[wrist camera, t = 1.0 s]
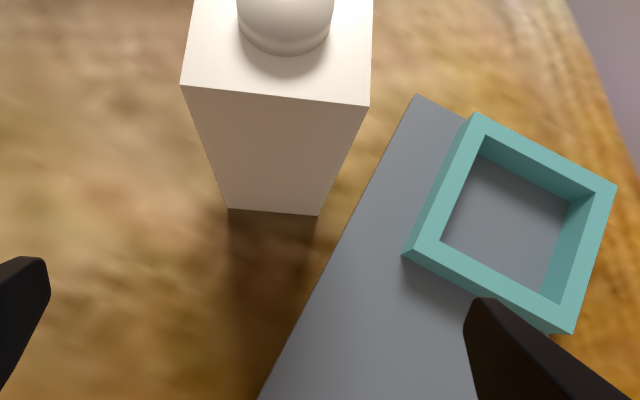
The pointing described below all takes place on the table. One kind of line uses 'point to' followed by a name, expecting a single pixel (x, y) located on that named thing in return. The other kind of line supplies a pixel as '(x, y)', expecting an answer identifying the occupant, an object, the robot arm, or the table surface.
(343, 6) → the column
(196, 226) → the table surface
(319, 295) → the baseplate
